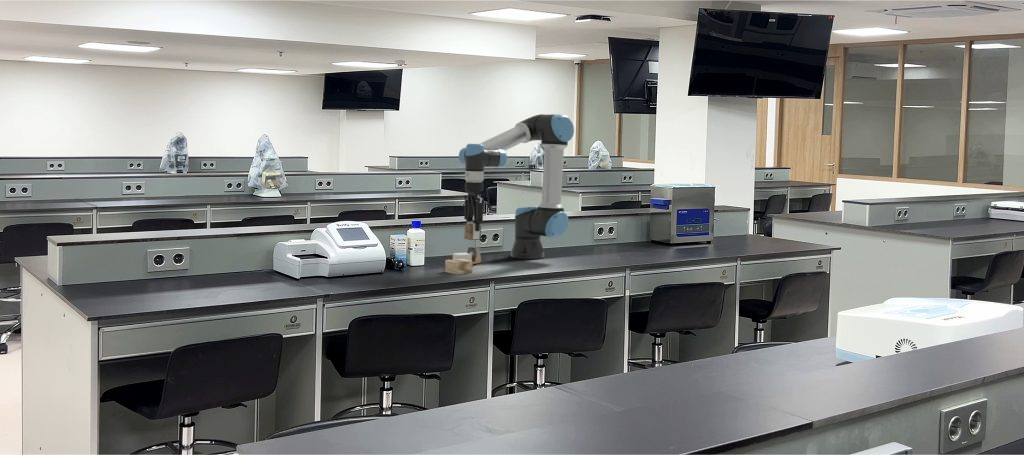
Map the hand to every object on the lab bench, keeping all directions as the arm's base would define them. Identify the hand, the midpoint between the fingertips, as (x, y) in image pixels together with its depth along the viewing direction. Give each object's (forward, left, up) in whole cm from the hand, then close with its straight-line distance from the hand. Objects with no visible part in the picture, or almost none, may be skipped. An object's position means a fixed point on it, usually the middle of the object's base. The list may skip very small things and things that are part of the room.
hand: (473, 238), depth 383 cm
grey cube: (0, -10, -14) cm, 17 cm away
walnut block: (0, 0, 0) cm, 0 cm away
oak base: (+6, 0, -14) cm, 15 cm away
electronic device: (-8, -17, -14) cm, 24 cm away
